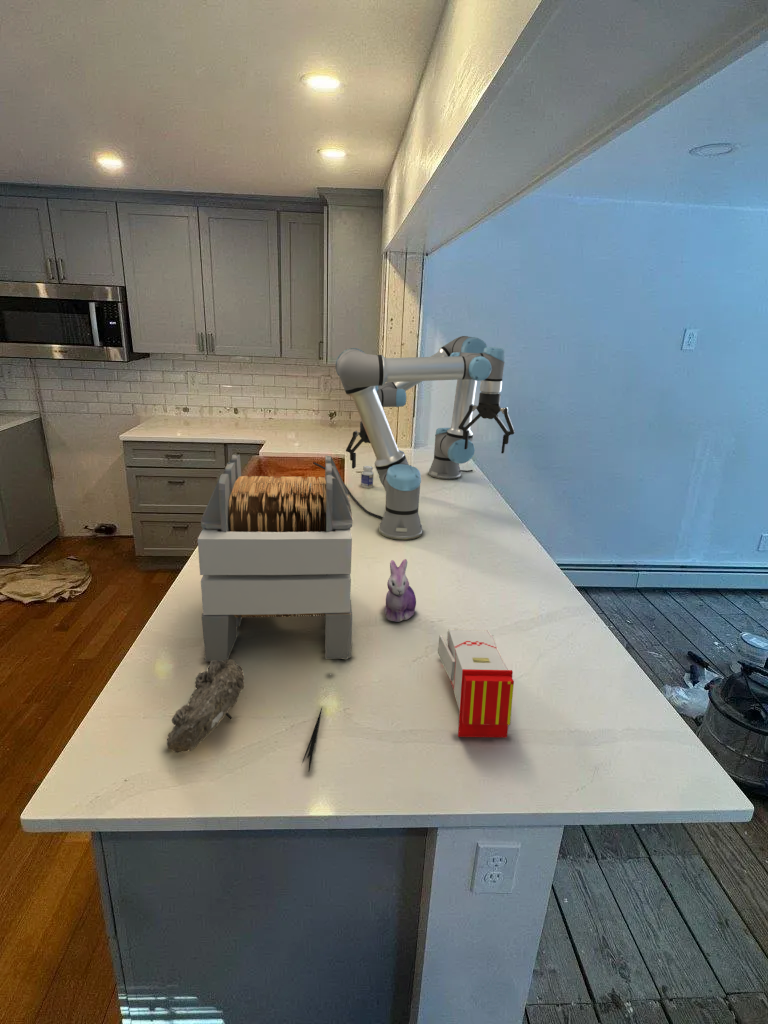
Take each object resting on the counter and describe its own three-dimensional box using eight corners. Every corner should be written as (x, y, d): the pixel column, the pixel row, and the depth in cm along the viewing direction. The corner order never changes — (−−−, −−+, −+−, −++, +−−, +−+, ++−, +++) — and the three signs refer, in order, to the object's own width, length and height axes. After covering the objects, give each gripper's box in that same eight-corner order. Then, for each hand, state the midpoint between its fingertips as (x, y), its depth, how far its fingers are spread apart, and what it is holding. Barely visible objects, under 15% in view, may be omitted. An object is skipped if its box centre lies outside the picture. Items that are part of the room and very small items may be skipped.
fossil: (192, 660, 117) (244, 628, 112) (224, 691, 120) (276, 661, 115) (142, 746, 98) (202, 712, 93) (182, 779, 101) (242, 748, 96)
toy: (488, 613, 130) (523, 677, 101) (484, 667, 133) (517, 744, 104) (435, 612, 130) (455, 676, 101) (432, 666, 133) (451, 743, 103)
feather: (331, 679, 122) (336, 673, 122) (307, 777, 96) (313, 769, 95) (324, 675, 122) (329, 669, 121) (298, 772, 95) (304, 764, 95)
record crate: (225, 590, 155) (217, 445, 141) (345, 589, 159) (348, 447, 145) (202, 664, 123) (188, 485, 110) (352, 660, 127) (356, 487, 113)
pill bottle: (370, 488, 248) (371, 469, 245) (359, 487, 250) (360, 467, 247) (374, 485, 253) (375, 466, 250) (363, 484, 254) (364, 464, 251)
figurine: (392, 627, 141) (395, 572, 136) (374, 608, 149) (376, 556, 144) (425, 619, 145) (429, 566, 140) (405, 601, 154) (408, 550, 149)
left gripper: (526, 394, 202) (519, 452, 210) (457, 388, 209) (453, 444, 216) (525, 396, 196) (517, 456, 203) (453, 390, 202) (449, 448, 210)
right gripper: (399, 421, 241) (398, 470, 249) (344, 417, 248) (345, 464, 256) (394, 425, 235) (393, 474, 242) (338, 420, 242) (338, 468, 249)
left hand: (484, 450), depth 210 cm, fingers open, 13 cm apart
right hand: (368, 469), depth 249 cm, fingers open, 13 cm apart
